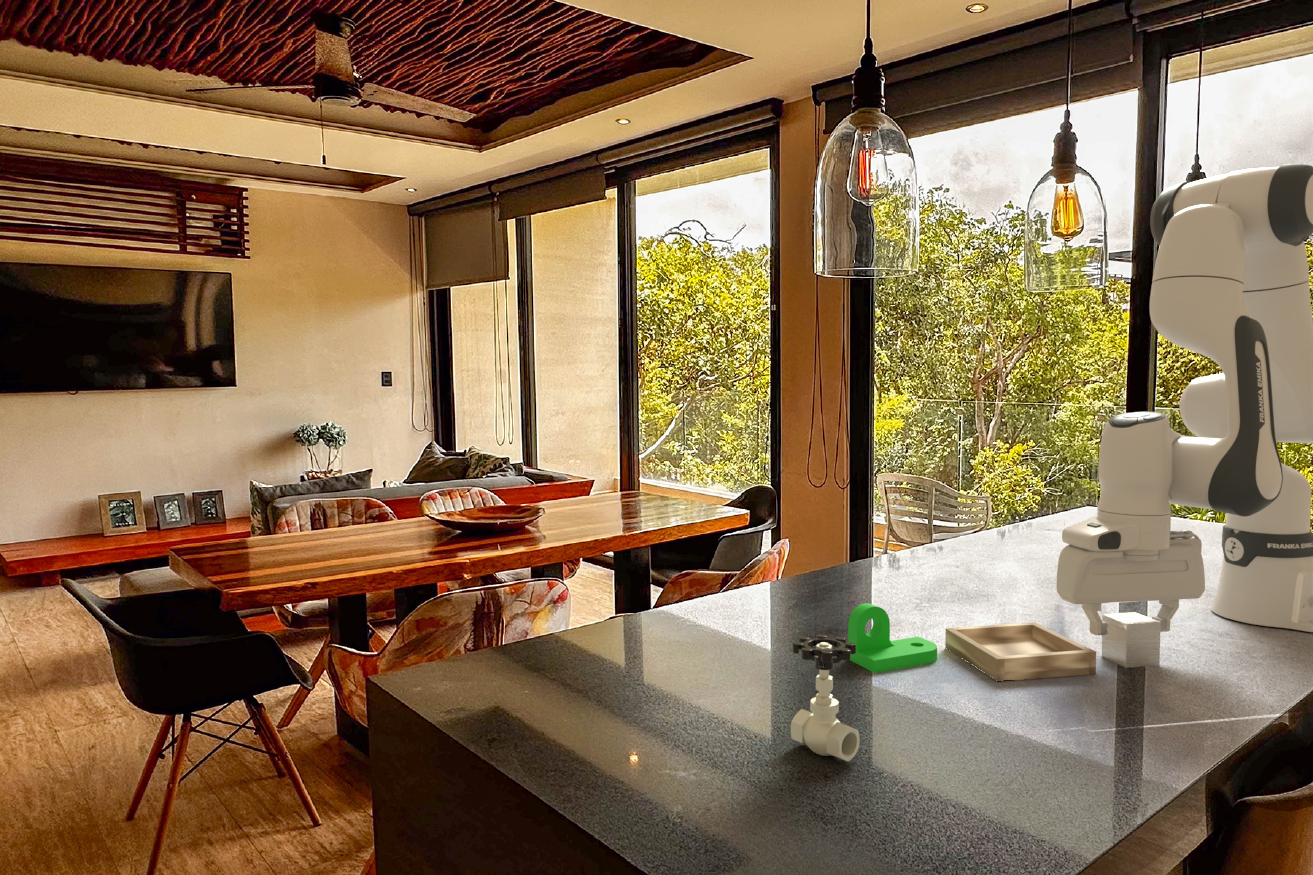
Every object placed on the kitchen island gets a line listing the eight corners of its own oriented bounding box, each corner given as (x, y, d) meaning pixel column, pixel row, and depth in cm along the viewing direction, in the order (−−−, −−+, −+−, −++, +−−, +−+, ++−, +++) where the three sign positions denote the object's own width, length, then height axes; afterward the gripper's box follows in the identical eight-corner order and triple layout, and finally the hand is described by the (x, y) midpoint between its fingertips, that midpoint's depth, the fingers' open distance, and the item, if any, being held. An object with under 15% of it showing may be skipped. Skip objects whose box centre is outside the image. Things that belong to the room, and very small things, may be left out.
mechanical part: (874, 674, 119) (874, 616, 118) (848, 661, 124) (848, 605, 124) (946, 662, 123) (946, 605, 123) (918, 649, 129) (918, 595, 128)
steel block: (1134, 653, 125) (1134, 611, 125) (1159, 665, 120) (1160, 621, 120) (1101, 656, 124) (1102, 614, 124) (1125, 668, 119) (1126, 624, 119)
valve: (820, 735, 99) (819, 630, 98) (869, 754, 94) (869, 643, 93) (780, 752, 95) (779, 642, 94) (829, 773, 90) (828, 657, 89)
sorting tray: (1034, 642, 131) (1034, 622, 131) (1095, 673, 117) (1096, 651, 117) (945, 648, 129) (945, 628, 128) (997, 681, 115) (997, 659, 115)
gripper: (1183, 526, 125) (1180, 622, 126) (1051, 530, 122) (1048, 629, 123) (1218, 533, 119) (1215, 635, 120) (1080, 538, 116) (1077, 643, 117)
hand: (1129, 632), depth 121 cm, fingers open, 8 cm apart
